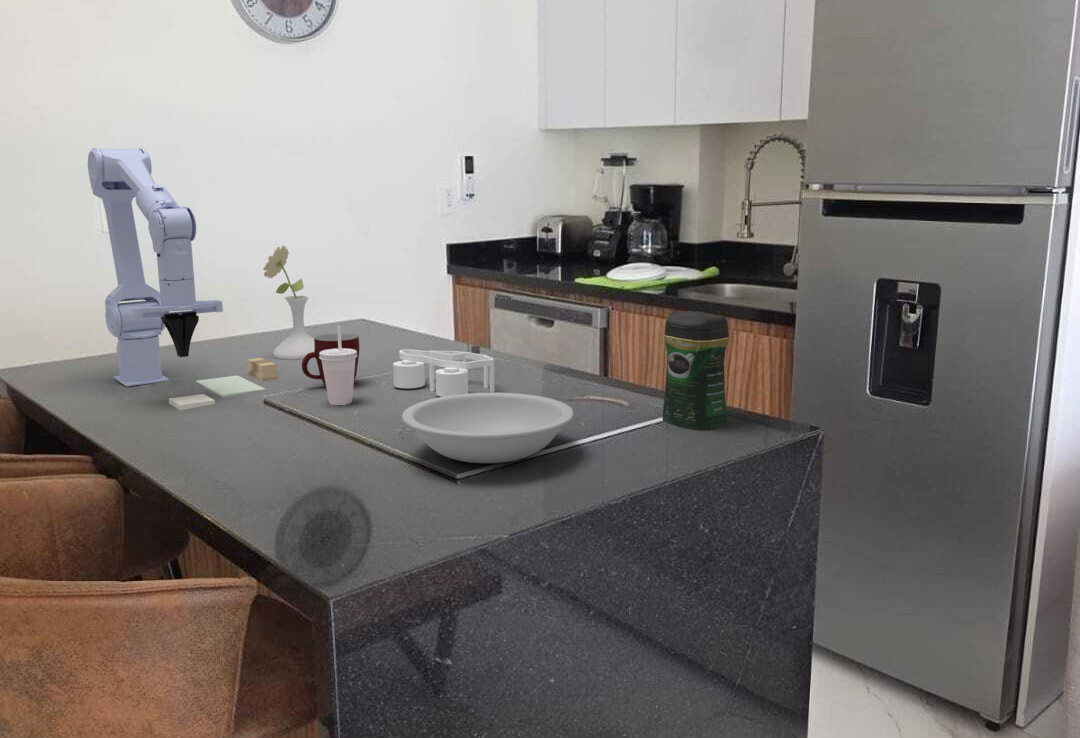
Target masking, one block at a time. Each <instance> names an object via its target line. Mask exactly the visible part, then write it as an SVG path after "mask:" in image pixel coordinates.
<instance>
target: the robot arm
mask: <svg viewBox="0 0 1080 738" xmlns="http://www.w3.org/2000/svg"><path fill="white" fill-rule="evenodd" d="M152 171H153V169H152V160H151V156H150V155H149V153H148V152H147V150H146V149H145V148H142V147H140V148H98V147H92V148H91V149H90V151H89V152H88V155H87V172H88V176H89V183H90V188H91V190H92V194H93V196H96V197H98V198H100V199H101V200H102V204H103V208H104V211H105V218H106V223H107V229H108V235H109V240H110V245H111V247H110V248H111V252H112V256H113V263H114V269H115V274H116V281H117V286H116V287H115V288H114V289H113V290H112V291H111V292H109V294H108V295H107V296H106V297H105V300H104V305H105V324H106V328H107V330H108V332H109V333H110V334H111V335H112V336H113V337H115V338H117V344H116V356H117V366H118V375H114V376H113V378H114V380H116V381H117V382H119V383H120V384H121V385H123V386H124V387H132V386H141V385H148V384H149V385H150V384H156V383H164V382H163V381H165V382H169V380H170V379H169V378H168V377H166V376H165V375H163V373H162V359H161V349H160V339H159V338H160V337H159V336H162V332H163V331H164V330H165V328H166V330H167V331H168V334H169V336H170V338H171V340H172V342H173V345H174V348H175V352H176V356H178V357H179V358H187V357H189V353H190V347H191V341H192V338H193V335H194V331H195V330H196V327H197V325H198V323H199V320H200V317H199V315H197V314H206V313H207V314H208V313H223V312H224V309H223V301H222V300H219V299H215V300H214V299H213V300H197V298H196V296H197V295H196V285H195V273H194V262H193V259H194V258H193V246H192V245H193V244H192V241H194V240H195V238H196V235H197V220H196V217H195V215H194V212H193V210H192V209H191V207H189V206H184V205H183V206H181V205H179V204H178V203H177V202H176V200H175V199H174V197H173V196H172V194H171V193H170V192H169V191H168V189H167V188H166V187H165V186H163V185H162V184H161V183H156V182H155V180H154V179H153V176H152ZM134 198H135V204H136V206H137V208H138V209H139V210H140V212H141V213H142V215H143V216H144V217H145V219H146V221H148V225H147V227H148V231H149V232H148V233H149V235H150V238H151V242H152V249H153V253H156V261H157V262H156V263H157V271H158V272H157V273H158V284H159V285H158V286H159V291H158V290H157V289H156V288H154V287H153V286H152V285H149V284H147V283H146V280H145V274H144V273H145V272H144V267H143V262H142V256H141V250H140V243H139V237H138V232H137V227H136V220H135V215H134V208H133V205H132V203H133V200H134Z"/></svg>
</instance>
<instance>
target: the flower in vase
mask: <svg viewBox="0 0 1080 738" xmlns="http://www.w3.org/2000/svg"><path fill="white" fill-rule="evenodd" d="M289 253H290V251H289V248H287V247H286V246H285V245H284V244H283V245H281V247H280V246H277V247H276V249H274V251H273V254H272V255H269V256H268V258H267V260H268V261H267V262H266V263H265V266H264V267H263V271H264V273H263V276H264V277H266V278H268V279H269V280H270V279H273V278H274V277H276V276H277V275H278V274H279V273H281V271H282V270H283V272H284V274H285V277H286V280H287V282H283V283H282V284H280V285H279V286H278V287H277V289H276V291H275V293H276V294H281V295H282V294H285V293H286V292H287V290H289V288H290V289H291V291H292V293H293V295H290V296H286V297H285V296H284V299H285V300H286V302H287V303H288V305H289V307H290V310H291V315H292V316H291V317H292V331H291V333H290V334H289V335H288V336H287V337H286V338H285V339H283V340H282V342H280V343H279V344H278V345H277V346H276V348H274V350H273V352H272V355H273V358H276V359H279V360H290V361H292V360H296V361H297V360H303V359H304V357H305V356H306V355H307V354H308V353H311V352H314V338H315V337H313V336H311V335H310V334H309V333H308V332H307V330H306V328H305V319H304V316H305V315H304V314H305V306H306V304H307V302H308V300H309V298H310V296H307V295H296V293H297V292H299V291H301V290H304V286H305V285H304V282H303V279H302V278H300V279H298V280H296V282H294V283H292V284H291V281H290V277H289V275H288V273H287V271H286V269H285V266H286V264H287V262H288V261H287V260H288V259H289V258H288V257H289Z"/></svg>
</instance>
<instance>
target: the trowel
mask: <svg viewBox="0 0 1080 738" xmlns="http://www.w3.org/2000/svg"><path fill="white" fill-rule="evenodd" d="M246 367H247V369H246V370H247V374H248V375H250V376H251V377H253V378H256V379H257V380H260V381H262V382H264V381H265V382H266V381H271V380H277V378H278V377H277V364H276V363H274V362H271V361H269V360H266V359H265V358H262V357H256V358H249V359H248V358H247V359H246Z"/></svg>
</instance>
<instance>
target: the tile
mask: <svg viewBox="0 0 1080 738" xmlns="http://www.w3.org/2000/svg"><path fill="white" fill-rule="evenodd" d="M168 404H169V405H171V406H172V407H174V408H175V409H177V410H179V411H184V410H190V409H195V408H196V409H197V408H199V407H201V408H202V407H207V406H211V405H215V404H216V400H215V399H214V398H211V397H210V396H208V395H206V394H205V393H199V394H192V395H185V396H178V397H171V398H168Z"/></svg>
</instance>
